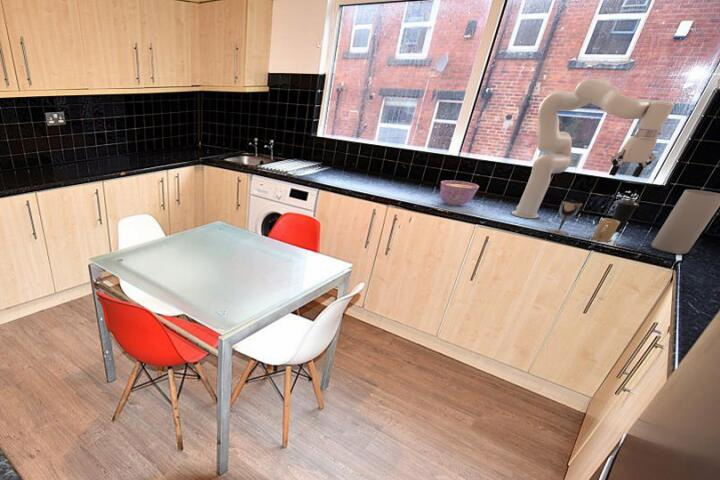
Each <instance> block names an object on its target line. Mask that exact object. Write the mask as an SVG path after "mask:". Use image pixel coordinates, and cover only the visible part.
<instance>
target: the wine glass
mask: <svg viewBox="0 0 720 480" xmlns="http://www.w3.org/2000/svg"><path fill="white" fill-rule="evenodd" d="M583 204H584V202H582V201H579V200H574V199H567V198H566V199H565V198H564V199H562V201H561V203H560V206H559V210H558V213H559V216H560V218H561V220H560V221H561V222H560V224H559V226H558V229H550V230H548V231H549V232H550V233H552V234H556V235H563V236H565V235H567V232H565V231H562V230H561V229H562V226H563V225H564V223H565V222H566V221H567V220H569V219H571V218H572V217H574V216H576V215H577V214H578V213H579V211H580V210H581V208H582V207H583Z"/></svg>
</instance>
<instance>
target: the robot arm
mask: <svg viewBox="0 0 720 480" xmlns="http://www.w3.org/2000/svg"><path fill="white" fill-rule="evenodd" d="M620 91H621V90H620V88H619V86H614V85H612V84H611V83H610V81H608V80H607V79H605V78H587V79H584V80H582V81H581V82H579V83H578V84H577V85H576V87H575V89H574V90H572V91H571V90H558V91H554V92H552V93H550V94H548V95H547V96H546V97H545V98H543V100H542V102H540V104H539V107H538V112H537V124H538V125H537V143H536V144H537V149H538V151H540V152H543V153H545V154H542V155H540V156H539V157H537V158H536V159H535V160H534V162H533V164H532V168H531V173H530V176H529V178H528V181H527V184H526V186H525V189H524V190H523V193H522V195H521V197H520V200H519V203H518V204H517V205H516V210H512V211H511V215H513V216H515V217H519V218H523V219H530V220H531V219H533V220H534V219H538V218H539V216H540V215H539V214H538V210H539V209H540V207H541V204H542V202H543V200H544V197H545V195H546V193H547V191H548V188H549V186H550V183H551V179H552V174H560V173H563V172H565V171H566V170H567V169H568V168H569V167H570V165H571V161H572V147H573V146H572V145H573V138H572V136H571V134H570V133H569V132H567V131H560V117H559V115H558V111H560V112H569V111H570V112H571V111H575V110H578V109H580V108H582V107H585V106H587V105H590V104H591V105H593V106H596V107H597V108H600V109H601V110H602V111H603V112H605V113H608V114H609V115H611V116H614V117H617V118H620V119H622V120H623V119H624V120H641V121H640V122H639V125H638V127H637V128H636V130H635V132H634V134H633V136H630V137H629V138H628V139H627V141H626V142H625V143H624V145H623V146H622V148H621V149H620V151H618V152H616V153H613V154H611V160H610V162H611V165H612V167H611V168H610V170H609V173H608V175H609V176H611V177H612V176H613V177H615V176H616V174H617V173H618V171H619V170H620V165H622V164H624V163H633V164H638V166H636V167H635V170H633V173H632V175H631V176H632V177H633V178H639V177H640V176H641V174H642V172H643V171H644V169H646V168H647V166H650V165H651V164H652V163H653V162H654V161H655V160H656V159H657V156H655V154H653V151H654V149H655V147H656V144H657V141H658V138H657V137H658V136H661V135H662V133H663V132H662V131H661V130H662V129H663V127H664V125H665V124H666V121H667V120H668V118H669V116H670V114H671V113H672V111H673V109H674V107H675V102H674V101H671V100H654V99H648V98H633V97H631V96H626V95H624V94H621V93H620Z"/></svg>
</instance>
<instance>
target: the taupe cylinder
mask: <svg viewBox="0 0 720 480" xmlns="http://www.w3.org/2000/svg"><path fill="white" fill-rule="evenodd" d="M719 208H720V193H718V192H713V191H707V190H700V189H699V190H698V189H684V191H683V193H682V195H681V196H680V197H679V199H678V201H677V202H676V204H675V205H674V207H673V209H672V210H671V211H670V213H669V215H668V217H667V218H666V220H665V222H664V223H663V225H662V226H661V228H660V230H659V231H658V233H657V234H656V235H655V237H654V239H653V240H652V242H651V244H650V247H651V248H652V249H654V250H657V251H659V252H663V253H668V254H672V255H673V254H674V255H685V254H688V253H689V251H690V250H691V249H692V247H693V246H694V245H695V244H696V241H697V240H698V239H699V237H700V235H701V234H702V232H703V231H704V230H705V228H706V227H707V225H708V224H709V222H710V221H711V219H712V218H713V217H714V216H715V213H716V212H717V210H718V209H719Z"/></svg>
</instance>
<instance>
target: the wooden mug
mask: <svg viewBox="0 0 720 480" xmlns="http://www.w3.org/2000/svg"><path fill="white" fill-rule="evenodd" d="M619 224H620V221H618V220H614V219H612V218H608V217H607V218H606V217H603V218H602V217H601V219H600V220H599V222H598V224H597V226H596V228H595V230H594V231H593V233H592V235H591V239H592V240H595V241H599V242H610V241H611V240H612V238H613V237H614V234H615V233H616V232H615V231H616V229H617V227H618V226H619Z"/></svg>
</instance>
